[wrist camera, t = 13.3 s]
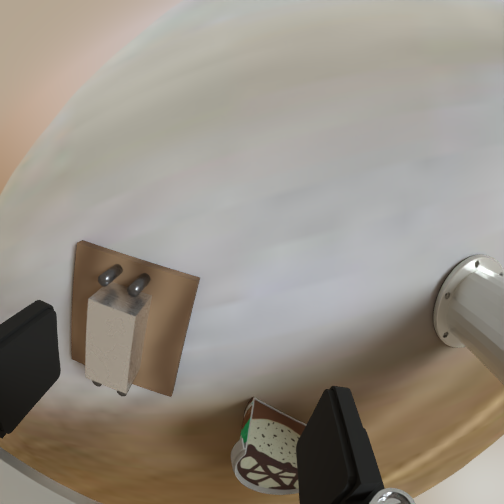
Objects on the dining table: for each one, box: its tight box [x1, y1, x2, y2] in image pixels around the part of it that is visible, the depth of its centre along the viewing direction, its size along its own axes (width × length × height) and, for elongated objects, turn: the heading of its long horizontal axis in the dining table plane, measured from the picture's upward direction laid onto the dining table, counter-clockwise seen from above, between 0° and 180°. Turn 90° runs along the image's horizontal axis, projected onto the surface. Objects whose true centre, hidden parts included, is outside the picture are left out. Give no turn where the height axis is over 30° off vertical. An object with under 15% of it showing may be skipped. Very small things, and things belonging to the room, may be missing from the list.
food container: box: [231, 397, 307, 495], centre depth 32 cm, size 12×6×10 cm, turn 52°
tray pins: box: [92, 264, 151, 396], centre depth 30 cm, size 4×14×4 cm, turn 163°
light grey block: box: [85, 282, 152, 394], centre depth 30 cm, size 5×10×5 cm, turn 163°
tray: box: [71, 240, 200, 397], centre depth 33 cm, size 14×16×1 cm
